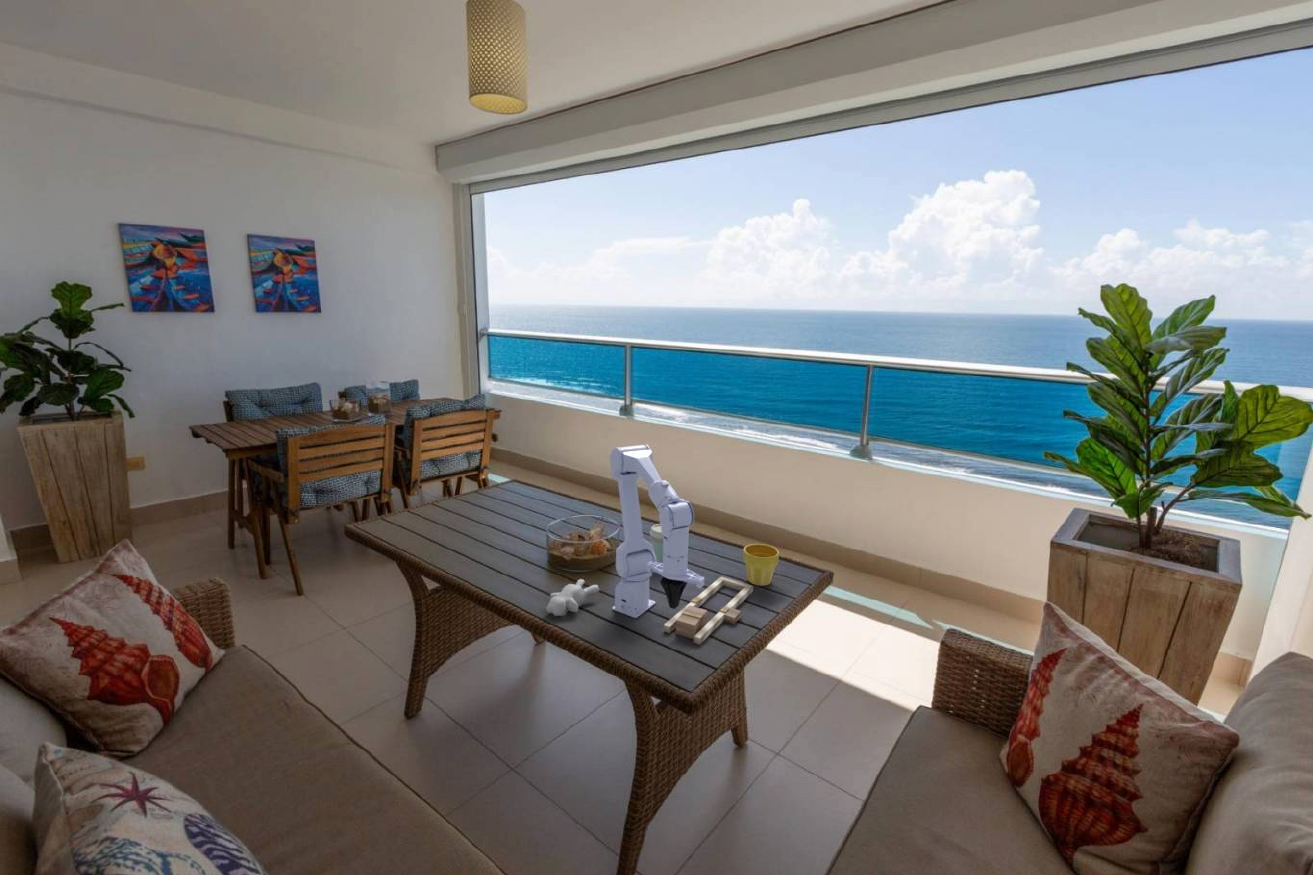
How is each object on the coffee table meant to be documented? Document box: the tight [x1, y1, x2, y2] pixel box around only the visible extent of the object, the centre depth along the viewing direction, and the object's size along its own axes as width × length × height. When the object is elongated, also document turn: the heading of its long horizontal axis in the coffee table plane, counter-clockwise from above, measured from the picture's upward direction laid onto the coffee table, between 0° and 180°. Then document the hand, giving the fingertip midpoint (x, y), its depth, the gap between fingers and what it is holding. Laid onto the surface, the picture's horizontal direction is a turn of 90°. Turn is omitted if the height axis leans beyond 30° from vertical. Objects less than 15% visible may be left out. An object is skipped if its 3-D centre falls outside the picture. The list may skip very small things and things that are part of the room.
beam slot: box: [663, 576, 754, 645], centre depth 148 cm, size 32×13×2 cm, turn 147°
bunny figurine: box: [545, 578, 600, 617], centre depth 150 cm, size 10×5×15 cm
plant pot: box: [742, 543, 780, 587], centre depth 165 cm, size 10×10×10 cm
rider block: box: [675, 605, 708, 640], centre depth 140 cm, size 8×5×4 cm, turn 152°
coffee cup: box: [649, 523, 664, 563], centre depth 175 cm, size 8×8×12 cm
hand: (674, 606), depth 130 cm, fingers closed
